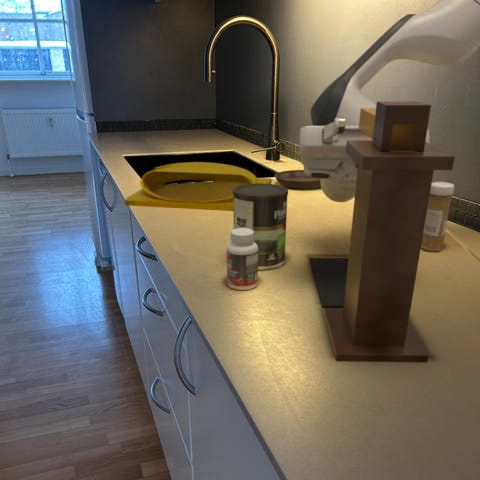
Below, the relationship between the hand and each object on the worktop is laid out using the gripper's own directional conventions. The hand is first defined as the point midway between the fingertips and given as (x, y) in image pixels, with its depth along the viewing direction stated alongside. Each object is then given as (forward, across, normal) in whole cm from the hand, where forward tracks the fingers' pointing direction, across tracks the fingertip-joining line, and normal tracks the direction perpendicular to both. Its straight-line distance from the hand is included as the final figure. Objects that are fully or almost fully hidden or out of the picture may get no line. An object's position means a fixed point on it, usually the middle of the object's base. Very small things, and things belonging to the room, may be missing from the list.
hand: (372, 122), depth 74 cm
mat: (-18, 0, -21) cm, 28 cm away
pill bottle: (-17, +19, -22) cm, 34 cm away
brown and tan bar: (+6, 0, -5) cm, 8 cm away
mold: (-76, +32, +12) cm, 83 cm away
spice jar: (-34, -20, -12) cm, 41 cm away
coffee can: (-27, +16, -16) cm, 35 cm away
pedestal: (-1, 0, -31) cm, 31 cm away
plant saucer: (-86, +2, +18) cm, 88 cm away
